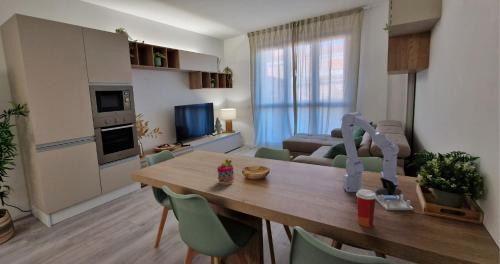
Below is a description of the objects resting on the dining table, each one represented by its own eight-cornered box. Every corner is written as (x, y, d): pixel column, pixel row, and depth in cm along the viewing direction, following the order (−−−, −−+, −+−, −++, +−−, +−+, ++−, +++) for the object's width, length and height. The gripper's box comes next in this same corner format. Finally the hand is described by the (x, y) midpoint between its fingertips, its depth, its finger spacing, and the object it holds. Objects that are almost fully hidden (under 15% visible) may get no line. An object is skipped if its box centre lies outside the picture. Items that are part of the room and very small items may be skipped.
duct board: (386, 210, 112) (386, 202, 111) (372, 196, 127) (372, 189, 126) (413, 209, 111) (413, 201, 110) (396, 196, 126) (396, 188, 125)
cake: (230, 186, 150) (229, 163, 148) (215, 185, 154) (213, 162, 151) (236, 180, 160) (235, 158, 157) (222, 179, 163) (220, 158, 161)
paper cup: (369, 218, 106) (370, 188, 103) (379, 227, 98) (380, 195, 96) (351, 219, 105) (352, 189, 103) (360, 228, 98) (361, 196, 96)
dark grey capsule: (378, 196, 120) (378, 189, 120) (374, 194, 124) (374, 187, 123) (402, 196, 119) (403, 189, 119) (399, 193, 123) (399, 187, 122)
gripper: (406, 172, 112) (404, 199, 114) (390, 163, 126) (389, 187, 128) (390, 172, 112) (389, 199, 114) (376, 163, 127) (376, 187, 129)
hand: (388, 193), depth 121 cm, fingers closed on dark grey capsule, 4 cm apart
